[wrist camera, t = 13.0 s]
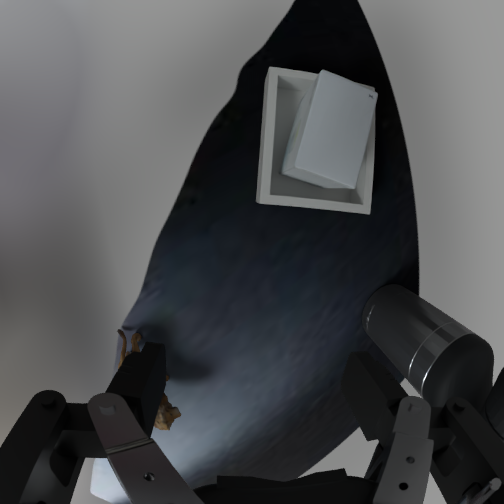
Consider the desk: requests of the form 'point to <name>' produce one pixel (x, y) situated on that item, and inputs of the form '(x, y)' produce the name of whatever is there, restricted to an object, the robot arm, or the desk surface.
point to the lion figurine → (165, 409)
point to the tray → (275, 142)
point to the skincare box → (330, 133)
